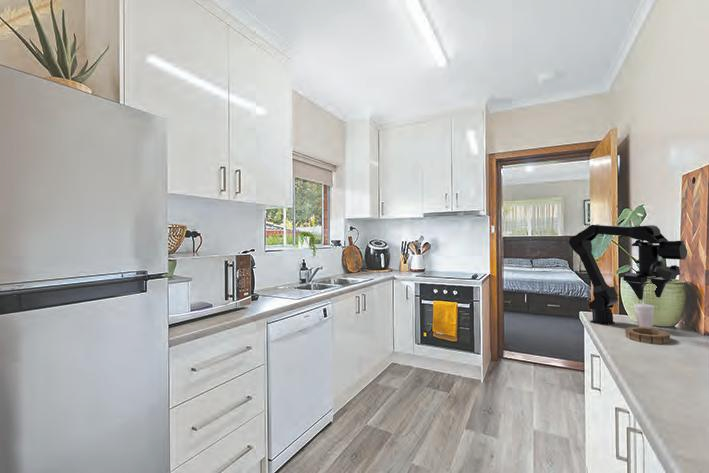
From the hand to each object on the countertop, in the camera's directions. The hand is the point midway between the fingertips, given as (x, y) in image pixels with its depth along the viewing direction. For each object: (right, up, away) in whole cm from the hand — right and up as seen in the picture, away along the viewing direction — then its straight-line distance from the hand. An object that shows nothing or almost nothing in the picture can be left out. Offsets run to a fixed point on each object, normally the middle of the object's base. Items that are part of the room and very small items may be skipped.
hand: (649, 298), depth 127 cm
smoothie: (+1, -13, +3) cm, 13 cm away
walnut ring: (-7, -13, -7) cm, 16 cm away
